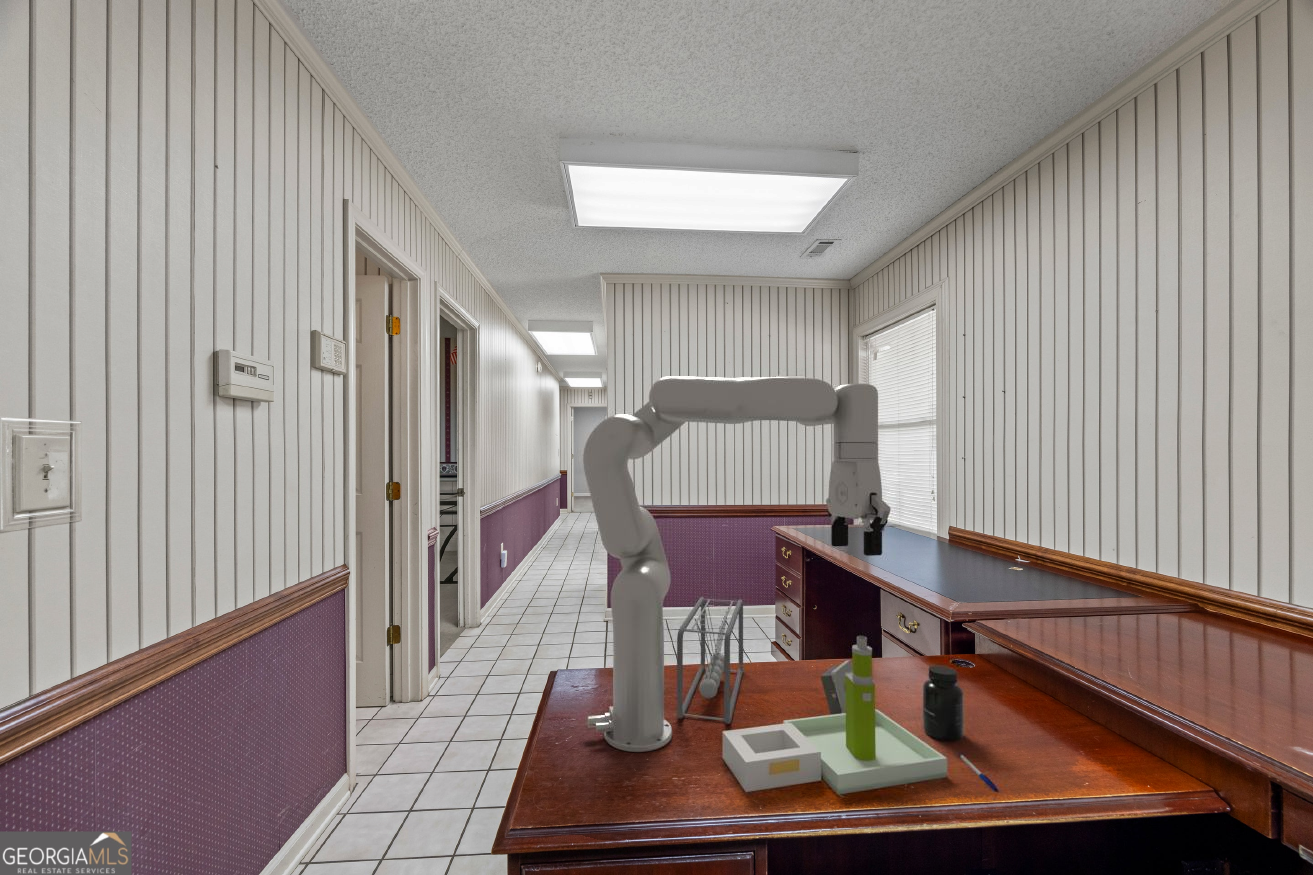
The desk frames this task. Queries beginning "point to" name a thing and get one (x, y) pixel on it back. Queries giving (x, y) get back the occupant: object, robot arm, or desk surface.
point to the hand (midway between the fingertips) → (855, 550)
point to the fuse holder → (771, 756)
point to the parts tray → (895, 755)
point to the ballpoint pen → (979, 773)
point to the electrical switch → (836, 686)
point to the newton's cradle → (717, 662)
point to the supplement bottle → (943, 705)
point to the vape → (860, 703)
